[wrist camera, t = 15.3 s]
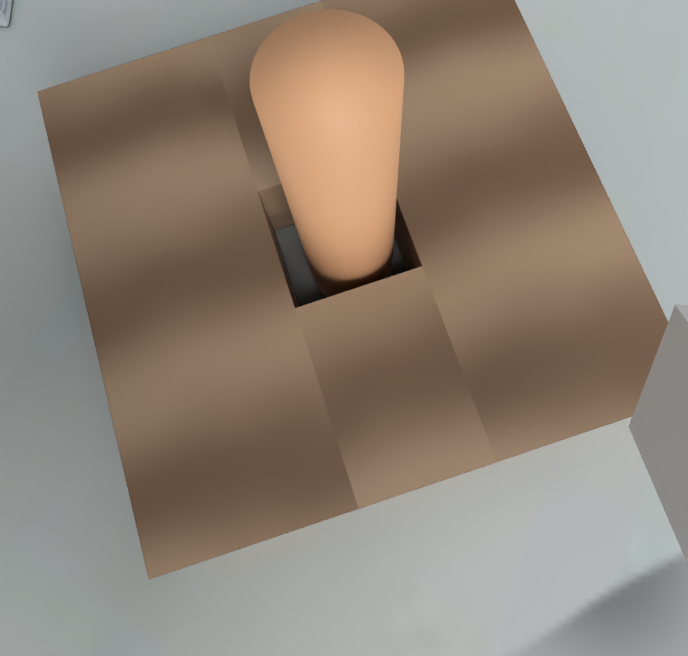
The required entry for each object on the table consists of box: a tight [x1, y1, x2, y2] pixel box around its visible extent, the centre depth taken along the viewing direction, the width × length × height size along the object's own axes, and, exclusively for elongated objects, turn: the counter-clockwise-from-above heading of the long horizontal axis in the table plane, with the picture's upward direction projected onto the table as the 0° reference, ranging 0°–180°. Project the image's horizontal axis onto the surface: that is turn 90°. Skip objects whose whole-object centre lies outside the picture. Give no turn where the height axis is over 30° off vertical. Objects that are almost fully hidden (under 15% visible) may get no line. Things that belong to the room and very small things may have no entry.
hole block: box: [38, 0, 668, 579], centre depth 22 cm, size 18×18×4 cm
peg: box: [250, 9, 404, 297], centre depth 18 cm, size 3×3×12 cm
